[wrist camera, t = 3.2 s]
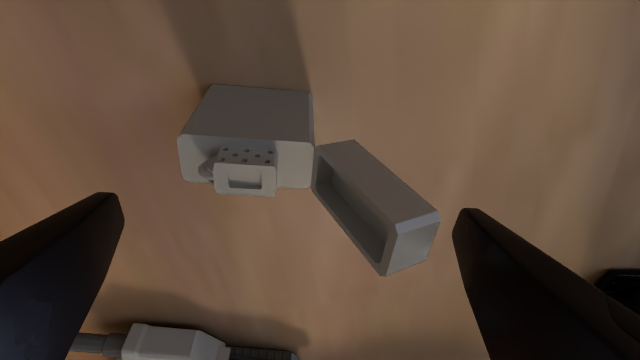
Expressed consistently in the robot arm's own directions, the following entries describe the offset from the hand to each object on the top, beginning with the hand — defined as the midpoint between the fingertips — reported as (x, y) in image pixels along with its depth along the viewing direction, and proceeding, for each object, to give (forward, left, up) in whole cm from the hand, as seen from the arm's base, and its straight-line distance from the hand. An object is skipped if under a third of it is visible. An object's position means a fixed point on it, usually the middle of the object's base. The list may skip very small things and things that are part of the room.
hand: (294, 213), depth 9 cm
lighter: (0, 0, -7) cm, 7 cm away
